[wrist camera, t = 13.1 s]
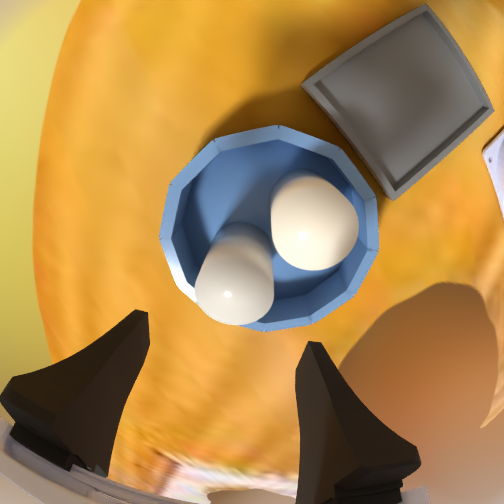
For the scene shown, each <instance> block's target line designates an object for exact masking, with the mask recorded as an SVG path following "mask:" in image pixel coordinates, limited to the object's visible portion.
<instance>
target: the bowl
mask: <svg viewBox="0 0 504 504" xmlns="http://www.w3.org/2000/svg"><path fill="white" fill-rule="evenodd" d="M296 169H309V170H313V171H315V172H317V173H319V174H321V175H322V176H323V177H325V178H326V179H327V180H328V181H329V182H330V183H331V184H332V185H333V186H334V187H335V188H336V189H337V190H339V191H340V192H341V193H342V194H343V195H344V196H345V197H346V198H347V199H348V200H349V201H350V202H351V204H352V205H353V207H354V209H355V211H356V213H357V216H358V221H359V232H358V237H357V240H356V243H355V245H354V247H353V249H352V250H351V251H350V253H349V254H348V255H347V256H346V257H345V258H344V259H343V260H342V261H340V262H339V263H337V264H336V265H334V266H332V267H329V268H326V269H322V270H304V269H300V268H297V267H295V266H293V265H291V264H289V263H288V262H287V261H285V260H284V259H283V258H282V257H281V256H280V254H279V253H278V251H277V250H276V248H275V245H274V242H273V238H272V228H271V214H270V194H271V190H272V188H273V186H274V184H275V183H276V181H277V180H278V179H279V178H280V177H281V176H283V175H284V174H286V173H287V172H290V171H292V170H296ZM170 183H171V184H169V188H168V193H167V198H166V203H165V208H164V213H163V218H162V223H161V229H160V234H159V237H160V239H159V240H160V243H161V245H162V248H163V251H164V254H165V256H166V259H167V262H168V264H169V267H170V269H171V272H172V275H173V277H174V280H175V282H176V285H179V286H178V288H180V289H181V290H182V291H183V292H184V293H185V294H186V295H188V296H189V297H190V298H191V299H192V300H193V301H194V302H196V303H197V304H198V302H197V300H196V297H195V283H196V280H197V277H198V275H199V272H200V270H201V267H202V265H203V262H204V260H205V258H206V255H207V253H208V250H209V248H210V246H211V243H212V241H213V239H214V236H215V235H216V233H217V232H218V231H219V230H220V229H222V228H223V227H225V226H226V225H229V224H232V223H236V222H245V223H250V224H253V225H255V226H257V227H259V228H260V229H261V230H263V231H264V232H265V233H266V235H267V236H268V238H269V239H270V242H271V245H272V257H273V280H274V300H273V303H272V306H271V308H270V309H269V311H268V312H267V313H266V314H265V315H264V316H263V317H262V318H260V319H259V320H257V321H255V322H252V323H249V324H244V325H238V326H242V327H246V328H250V329H254V330H257V331H261V332H263V331H265V332H268V331H275V330H281V329H287V328H293V327H299V326H305V325H311V324H312V322H313V323H316V322H317V321H319V320H320V319H322V318H323V317H325V316H326V315H328V314H329V313H331V312H332V311H334V310H335V309H337V308H338V307H339V306H341V305H342V304H344V303H345V302H347V301H348V300H350V299H351V298H352V297H354V295H356V293H357V291H358V289H359V287H360V286H361V284H362V282H363V280H364V278H365V277H366V275H367V273H368V271H369V269H370V267H371V265H372V263H373V261H374V259H375V258H376V256H377V254H378V252H379V251H378V250H379V232H378V212H377V198H376V197H375V193H374V192H373V191H372V189H371V188H370V186H369V185H368V183H367V182H366V181H365V179H364V178H363V176H362V175H361V174H360V172H359V171H358V169H357V168H356V167H355V165H354V164H353V163H352V161H351V160H350V159H349V157H348V156H347V155H346V154H345V152H344V151H343V150H342V149H341V148H340V147H338V146H336V145H333V144H331V143H328V142H326V141H323V140H321V139H318V138H315V137H313V136H310V135H307V134H305V133H302V132H299V131H296V130H294V129H291V128H288V127H285V126H282V125H272V126H267V127H262V128H257V129H252V130H247V131H243V132H238V133H234V134H230V135H226V136H222V137H218V138H215V139H214V140H212V141H211V142H210V143H209V144H208V145H207V146H206V147H204V148H203V149H202V150H201V151H200V152H199V153H198V154H197V155H196V156H195V157H194V158H193V159H192V160H191V161H190V162H189V164H188V165H187V166H186V167H185V168H184V169H183V170H182V171H181V172H180V173H179V174H178V175H177V176H176V177H175V178H174V179H173V180H172V181H171V182H170ZM353 294H354V295H353ZM198 305H199V304H198Z"/></svg>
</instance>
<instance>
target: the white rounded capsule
mask: <svg viewBox="0 0 504 504" xmlns="http://www.w3.org/2000/svg"><path fill="white" fill-rule="evenodd" d="M270 214H271V228H272V238H273V242H274V245H275V248H276V250H277V251H278V253H279V254H280V256H281V257H282V258H283V259H284V260H285V261H287V262H288V263H289V264H291V265H293V266H295V267H297V268H300V269H304V270H322V269H326V268H329V267H332V266H334V265H336V264H337V263H339V262H340V261H342V260H343V259H344V258H345V257H346V256H347V255H348V254H349V253H350V251H351V250H352V249H353V247H354V245H355V243H356V240H357V237H358V232H359V221H358V216H357V213H356V211H355V209H354V207H353V205H352V204H351V202H350V201H349V200H348V199H347V198H346V197H345V196H344V195H343V194H342V193H341V192H340V191H339V190H337V189H336V188H335V187H334V186H333V185H332V184H331V183H330V182H329V181H328V180H327V179H326V178H325V177H323V176H322V175H321V174H319V173H317V172H315V171H313V170H309V169H296V170H292V171H290V172H287V173H286V174H284V175H283V176H281V177H280V178H279V179H278V180H277V181H276V183H275V184H274V186H273V188H272V190H271V194H270Z"/></svg>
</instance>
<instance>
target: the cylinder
mask: <svg viewBox="0 0 504 504" xmlns="http://www.w3.org/2000/svg"><path fill="white" fill-rule="evenodd" d="M195 297H196V300H197V302H198V304H199V306H200V307H201V309H202V310H203V311H204V312H205V313H206V314H207V315H208V316H210V317H211V318H213V319H215V320H217V321H219V322H221V323H225V324H230V325H244V324H249V323H252V322H255V321H257V320H259V319H260V318H262V317H263V316H264V315H265V314H266V313H267V312H268V311H269V309H270V308H271V306H272V303H273V300H274V280H273V257H272V245H271V242H270V239H269V238H268V236H267V235H266V233H265V232H264V231H263V230H261V229H260V228H259V227H257V226H255V225H253V224H250V223H245V222H236V223H232V224H229V225H226V226H225V227H223V228H222V229H220V230H219V231H218V232H217V233H216V235H215V236H214V239H213V241H212V243H211V246H210V248H209V250H208V253H207V255H206V258H205V260H204V262H203V265H202V267H201V270H200V272H199V275H198V277H197V280H196V283H195Z"/></svg>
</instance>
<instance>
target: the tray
mask: <svg viewBox="0 0 504 504" xmlns="http://www.w3.org/2000/svg"><path fill="white" fill-rule="evenodd" d="M300 87H301V88H302V89H303V90H304V91H305V92H306V93H307V94H308V95H309V96H310V97H311V98H312V100H313V101H314V102H315V103H316V104H317V105H318V106H319V108H320V109H321V110H322V111H323V112H324V113H325V114H326V116H327V117H328V118H329V119H330V120H331V122H332V123H333V124H334V125H335V126H336V128H337V129H338V130H339V131H340V133H341V134H342V135H343V136H344V138H345V139H346V140H347V142H348V143H349V144H350V145H351V147H352V148H353V149H354V151H355V152H356V153H357V155H358V156H359V157H360V159H361V160H362V162H363V163H364V164H365V166H366V167H367V168H368V170H369V171H370V173H371V174H372V176H373V177H374V178H375V180H376V181H377V183H378V184H379V186H380V187H381V189H382V190H383V192H384V193H385V195H386V196H387V197H388V198H389V199H391V200H392V201H395V200H396V199H397V198H398V197H399V196H401V195H402V194H403V193H404V192H405V191H407V190H408V189H409V188H410V187H411V186H412V185H414V184H415V183H416V182H417V181H418V180H420V179H421V178H422V177H423V176H424V175H425V174H426V173H428V172H429V171H430V170H431V169H432V168H433V167H435V166H436V165H437V164H438V163H439V162H440V161H441V160H442V159H444V158H445V157H446V156H447V155H448V154H449V153H450V152H451V151H452V150H454V149H455V148H456V147H457V146H458V145H459V144H460V143H461V142H462V141H463V140H465V139H466V138H467V137H468V136H469V135H470V134H471V133H472V132H473V131H474V130H475V129H476V128H477V127H478V126H479V125H481V124H482V123H483V122H484V121H485V120H486V119H487V118H488V117H489V116H490V115H491V114H492V113H493V112H494V109H493V106H492V104H491V102H490V100H489V98H488V96H487V94H486V92H485V90H484V88H483V86H482V84H481V83H480V81H479V79H478V77H477V75H476V73H475V72H474V70H473V68H472V67H471V65H470V63H469V62H468V60H467V58H466V57H465V55H464V54H463V52H462V50H461V49H460V47H459V46H458V44H457V43H456V41H455V40H454V39H453V37H452V36H451V34H450V33H449V32H448V30H447V29H446V27H445V26H444V25H443V23H442V22H441V21H440V20H439V18H438V17H437V16H436V15H435V13H434V12H433V11H432V10H431V8H430V7H429V6H428V5H427V4H424V5H422V6H420V7H418V8H416V9H414V10H412V11H410V12H409V13H407V14H405V15H403V16H402V17H400V18H398V19H396V20H395V21H393V22H391V23H389V24H388V25H386V26H384V27H383V28H381V29H380V30H378V31H376V32H375V33H373V34H372V35H370V36H368V37H367V38H365V39H364V40H362V41H361V42H359V43H358V44H356V45H355V46H353V47H352V48H350V49H349V50H347V51H346V52H344V53H343V54H341V55H340V56H338V57H337V58H336V59H334V60H333V61H331V62H330V63H329V64H327V65H326V66H324V67H323V68H322V69H320V70H319V71H318V72H316V73H315V74H314V75H312V76H311V77H310V78H308V79H307V80H306V81H304V82H303V83H302V84H301V85H300Z"/></svg>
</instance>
